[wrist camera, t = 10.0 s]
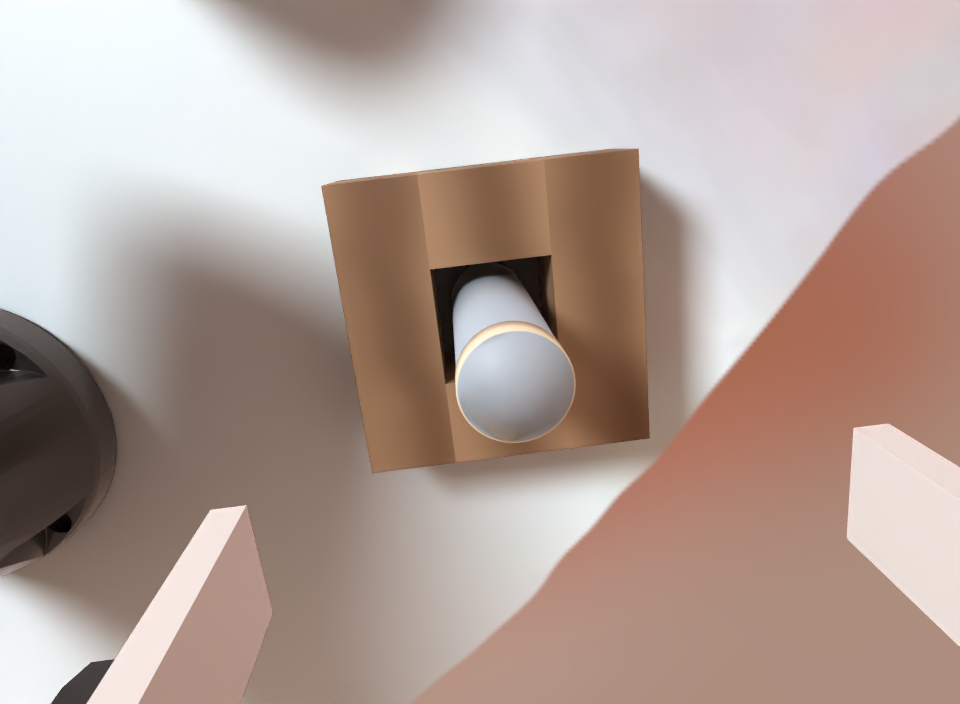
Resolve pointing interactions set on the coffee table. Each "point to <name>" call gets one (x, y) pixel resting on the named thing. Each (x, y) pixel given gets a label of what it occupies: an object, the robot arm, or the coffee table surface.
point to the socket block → (481, 239)
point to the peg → (507, 358)
